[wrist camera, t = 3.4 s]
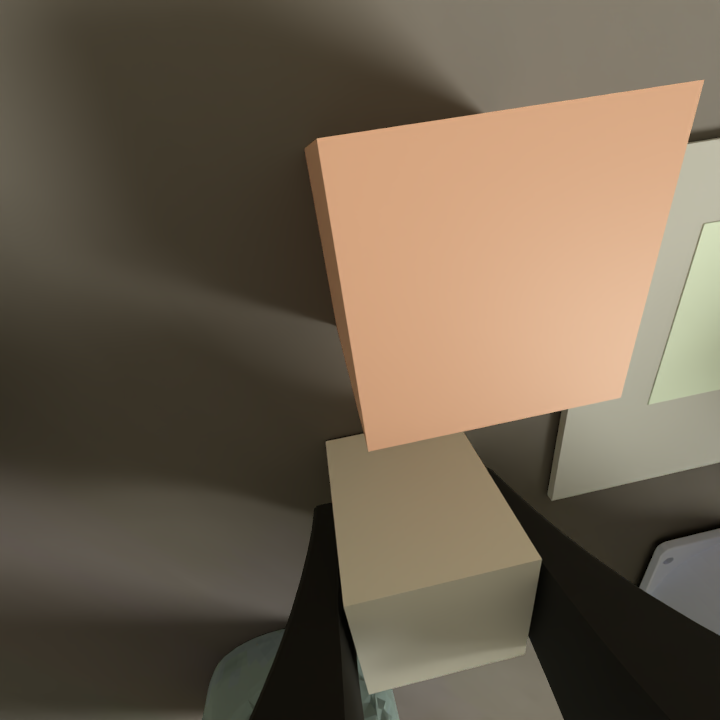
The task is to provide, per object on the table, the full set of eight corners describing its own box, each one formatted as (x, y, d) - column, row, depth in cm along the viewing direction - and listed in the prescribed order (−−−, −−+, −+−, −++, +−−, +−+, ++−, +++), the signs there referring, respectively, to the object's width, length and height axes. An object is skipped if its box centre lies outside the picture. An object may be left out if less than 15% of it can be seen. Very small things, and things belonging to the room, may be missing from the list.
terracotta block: (484, 297, 10) (620, 397, 6) (336, 325, 10) (368, 451, 6) (490, 120, 8) (704, 79, 4) (304, 148, 8) (316, 138, 4)
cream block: (454, 501, 14) (524, 653, 10) (345, 526, 14) (368, 694, 10) (452, 414, 12) (541, 559, 8) (325, 441, 12) (343, 606, 7)
